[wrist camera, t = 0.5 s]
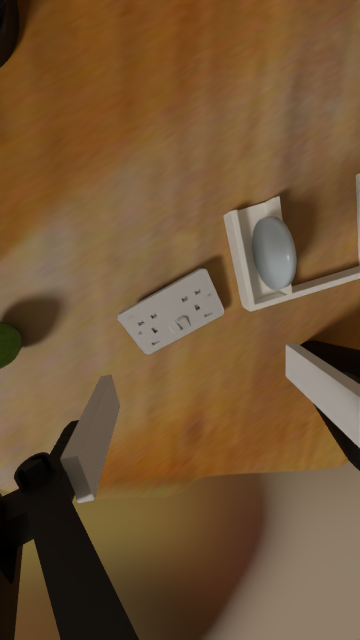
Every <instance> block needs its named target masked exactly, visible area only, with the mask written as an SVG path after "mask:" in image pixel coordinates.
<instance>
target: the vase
mask: <svg viewBox="0 0 360 640" xmlns="http://www.w3.org/2000/svg"><path fill="white" fill-rule="evenodd" d="M300 346H302V347H303V348H305V349H306V350H308V351H309V352H311V353H312V354H314V355H315V356H317V357H318V358H320V359H321V360H323V361H325V362H326V363H328V364H329V365H331V366H332V367H334V368H335V369H337V370H338V371H340V372H347V373H350V374H353V375H355V376H357V377H358V378H360V350H356V349H352V348H347V347H342V346H337V345H333V344H328V343H323V342H318V341H309V342H305V343H303V344H301V345H300ZM313 404H314V403H313ZM314 406H315V407H316V409H317V411H318V412H319V414H320V415H321V417H322V419H323V420H324V422H325V424H326V425H327V427H328V429H329V430H330V432H331V434H332V435H333V437H334V439H335V440H336V442H337V443H338V445H339V446H340V448H341V449H342V451H343V452H344V454H345V455H346V457H347V458H348V460H349V461H350V462H351V463H352V464H353V465H354V466H355V467H356V468H357V469H358V470H359V471H360V448H359V447H358V446H357V445H356V444H355V443H354V442H353V441H352V440H351V439H350V438H349V437H348V436H347V435H346V434H345V433H344V432H343V431H342V430H341V429H340V428H339V427H338V426H336V425H335V424H334V423H333V422H332V421H331V420H330V419H329V418H328V417H327V416H326V415H325V414H324V413H323V412H322V411H321V410H320V409H319V408H318V407H317V406H316V405H315V404H314Z"/></svg>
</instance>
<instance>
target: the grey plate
mask: <svg viewBox="0 0 360 640" xmlns="http://www.w3.org/2000/svg"><path fill="white" fill-rule="evenodd" d="M252 252H253V258H254V262H255V266H256V269H257V271H258V273H259V275H260V277H261V279H262V281H263V282H264V283H265V285H266V286H267V287H269V288H270V289H272V290H279V289H282V288H286V287H288V286H289V285H290V284H291V283H292V281H293V279H294V276H295V273H296V265H297V258H296V250H295V245H294V241H293V238H292V235H291V233H290V231H289V229H288V227H287V226H286V224H285V223H284V222H283V221H282V220H281V219H280V218H278V217H276V216H269V217H266V218H263V219H260V220H259V221H258V222H257V223H256V225H255V227H254V230H253V235H252Z"/></svg>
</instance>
